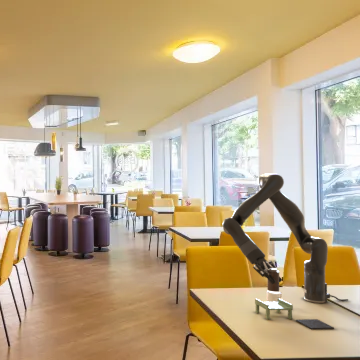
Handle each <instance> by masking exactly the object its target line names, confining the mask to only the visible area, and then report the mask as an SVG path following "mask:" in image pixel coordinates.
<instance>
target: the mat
mask: <svg viewBox="0 0 360 360" xmlns="http://www.w3.org/2000/svg"><path fill="white" fill-rule="evenodd" d="M295 322H297V323H299V324H301V325H303V326H305V327H306V328H308V329H310V330H335V327H334V326H332V325H330V324H328V323H325V322H324V321H322V320H320V319H317V318H316V319H315V318H313V319H312V318H311V319H309V318H308V319H295Z"/></svg>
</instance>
